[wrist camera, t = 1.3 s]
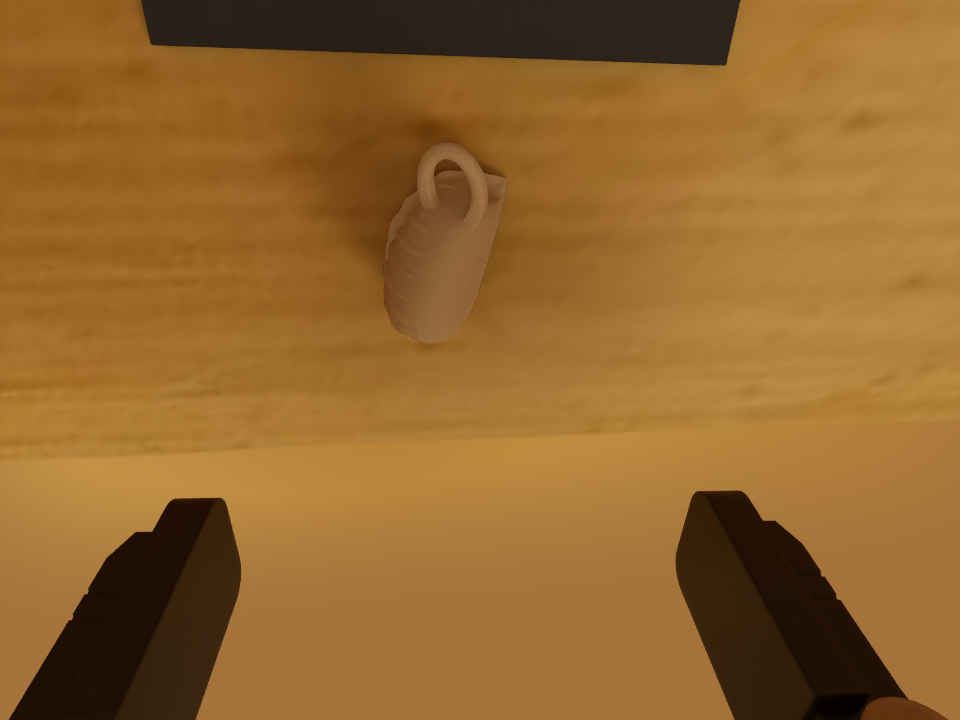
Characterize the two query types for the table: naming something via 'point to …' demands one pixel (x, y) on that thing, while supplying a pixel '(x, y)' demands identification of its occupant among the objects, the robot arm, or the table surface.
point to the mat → (458, 27)
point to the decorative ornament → (441, 245)
